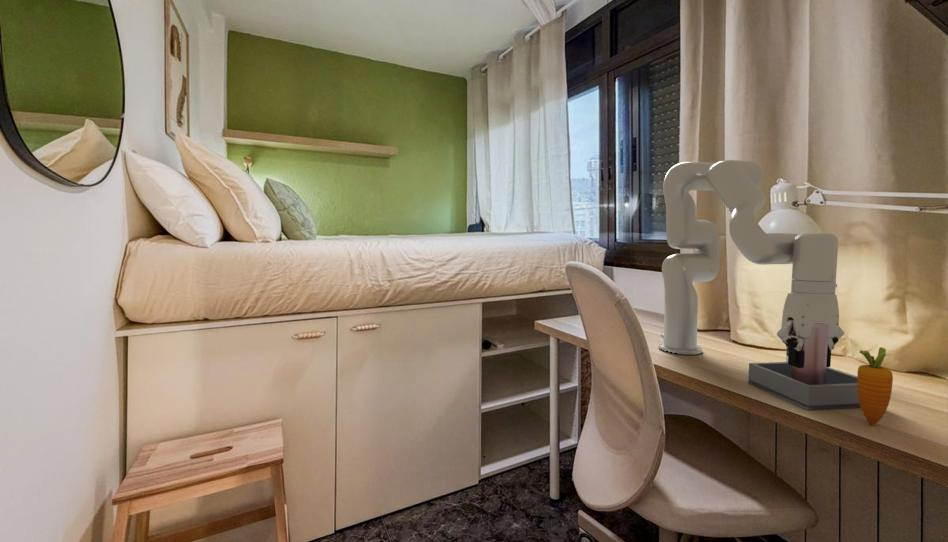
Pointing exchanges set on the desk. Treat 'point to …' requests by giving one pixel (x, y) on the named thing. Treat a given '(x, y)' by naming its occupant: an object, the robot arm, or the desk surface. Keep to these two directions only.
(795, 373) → the beverage can
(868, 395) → the carrot
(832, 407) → the tray
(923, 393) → the desk surface
